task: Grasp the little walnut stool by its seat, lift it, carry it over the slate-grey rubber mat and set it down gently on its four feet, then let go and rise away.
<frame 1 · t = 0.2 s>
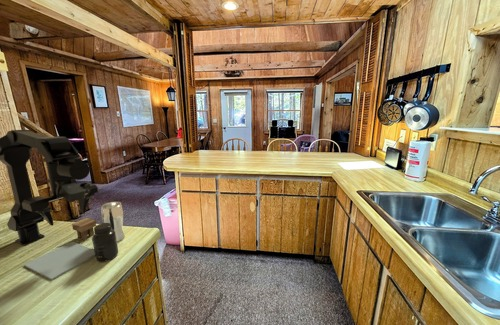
hand: (68, 218, 71), 14 cm above the worktop, fingers open, 9 cm apart
walnut stool: (86, 236, 86), on the worktop
beer glass: (116, 239, 84), on the worktop
supplement bottle: (107, 256, 74), on the worktop
rubber mat: (63, 259, 72), on the worktop
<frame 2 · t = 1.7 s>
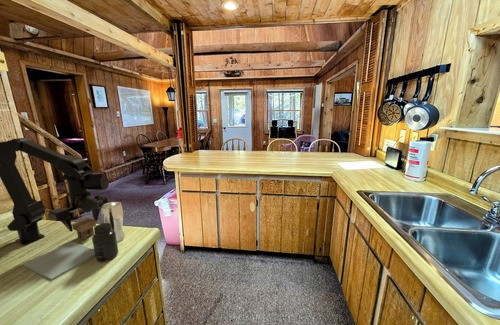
hand: (84, 225, 85), 5 cm above the worktop, fingers open, 9 cm apart
nothing on the worktop moved.
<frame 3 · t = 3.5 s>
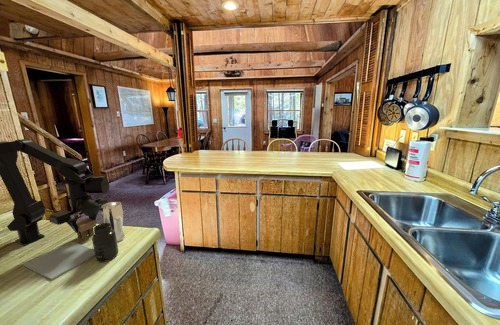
hand: (84, 229, 85), 3 cm above the worktop, fingers closed on walnut stool, 5 cm apart
walnut stool: (86, 236, 86), on the worktop, touching gripper
everything else where it was.
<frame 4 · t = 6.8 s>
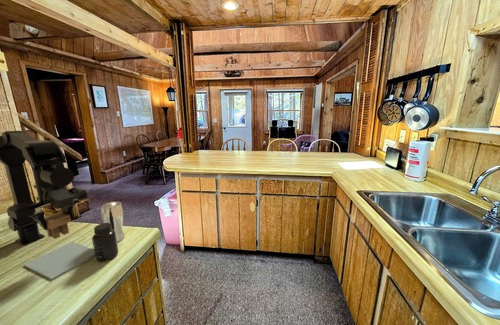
hand: (56, 225, 69), 13 cm above the worktop, fingers closed on walnut stool, 5 cm apart
walnut stool: (58, 234, 70), point 10 cm above the worktop, touching gripper
everything else where it was.
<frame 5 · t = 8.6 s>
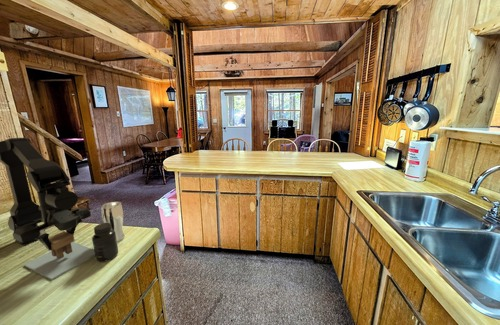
hand: (60, 245, 71), 6 cm above the worktop, fingers closed on walnut stool, 5 cm apart
walnut stool: (62, 253, 72), point 2 cm above the worktop, touching gripper
everything else where it was.
when the fingers open (5 cm above the worktop, at t = 10.1 s): walnut stool stays where it is, resting on rubber mat.
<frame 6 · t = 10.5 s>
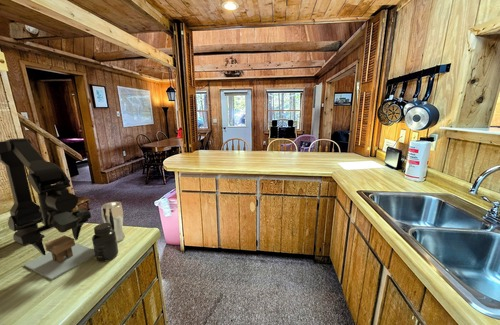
hand: (61, 246, 71), 5 cm above the worktop, fingers open, 9 cm apart
walnut stool: (63, 257, 72), point 1 cm above the worktop, touching rubber mat
everything else where it was.
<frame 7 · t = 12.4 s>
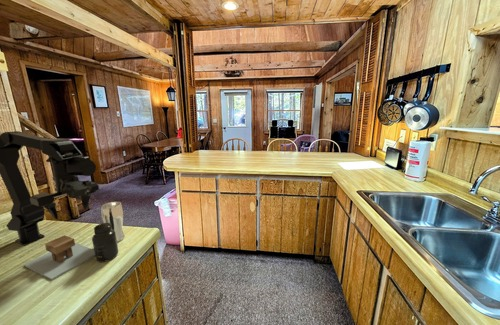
hand: (71, 213, 78), 13 cm above the worktop, fingers open, 9 cm apart
nothing on the worktop moved.
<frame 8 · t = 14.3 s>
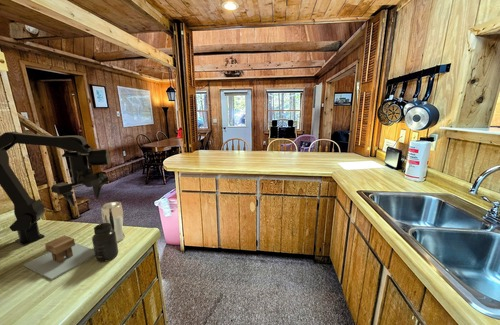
hand: (85, 202, 88), 13 cm above the worktop, fingers open, 9 cm apart
nothing on the worktop moved.
at the end: walnut stool inside the target area on the rubber mat (0.0 cm from its centre), point 0.6 cm above the rubber mat's base; walnut stool tilted 0°; the gripper is holding nothing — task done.
